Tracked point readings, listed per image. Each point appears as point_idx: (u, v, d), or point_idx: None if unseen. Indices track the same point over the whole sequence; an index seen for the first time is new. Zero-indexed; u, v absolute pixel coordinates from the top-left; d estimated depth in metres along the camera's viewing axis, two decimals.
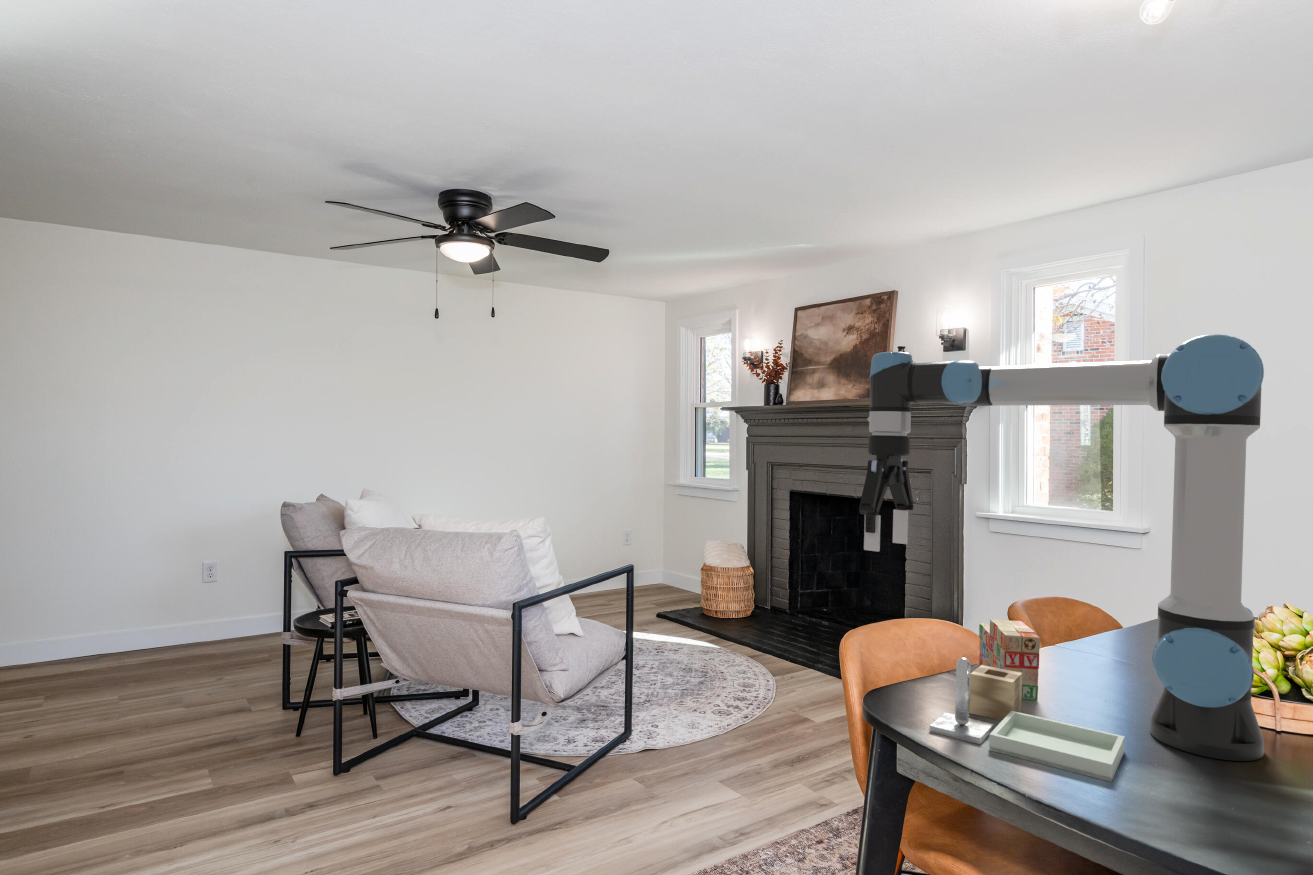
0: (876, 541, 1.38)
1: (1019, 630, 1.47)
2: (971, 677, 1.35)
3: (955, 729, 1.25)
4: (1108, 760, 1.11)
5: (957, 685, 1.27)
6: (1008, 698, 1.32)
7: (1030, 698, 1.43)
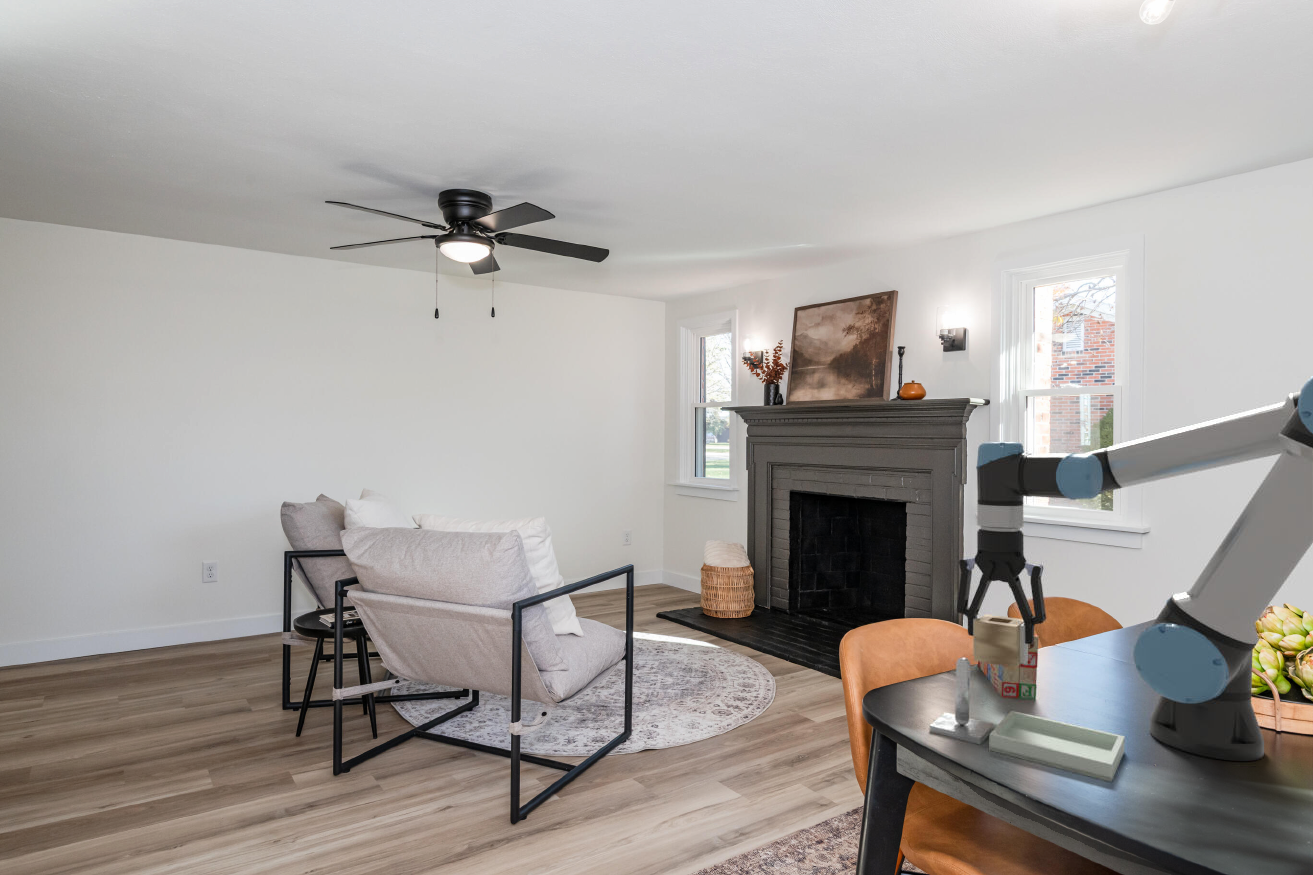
0: (973, 644, 1.38)
1: None
2: (975, 624, 1.35)
3: (955, 729, 1.25)
4: (1108, 760, 1.11)
5: (957, 685, 1.27)
6: (1013, 643, 1.31)
7: (1028, 697, 1.44)
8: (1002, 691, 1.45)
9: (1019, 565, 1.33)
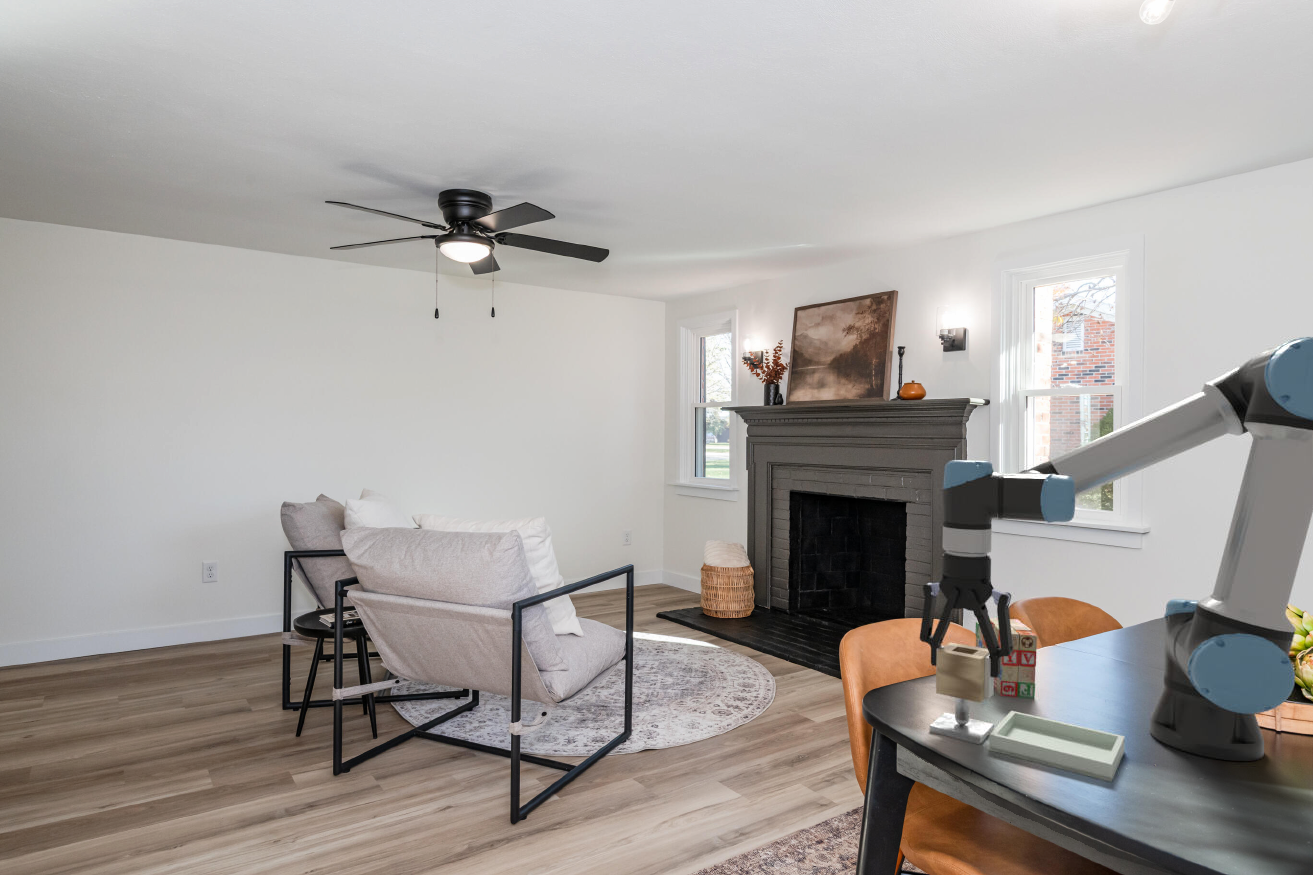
0: (936, 675, 1.29)
1: (1016, 628, 1.48)
2: (938, 655, 1.26)
3: (955, 729, 1.25)
4: (1108, 760, 1.11)
5: None
6: (977, 676, 1.23)
7: (1027, 696, 1.45)
8: (1001, 690, 1.45)
9: (985, 593, 1.24)
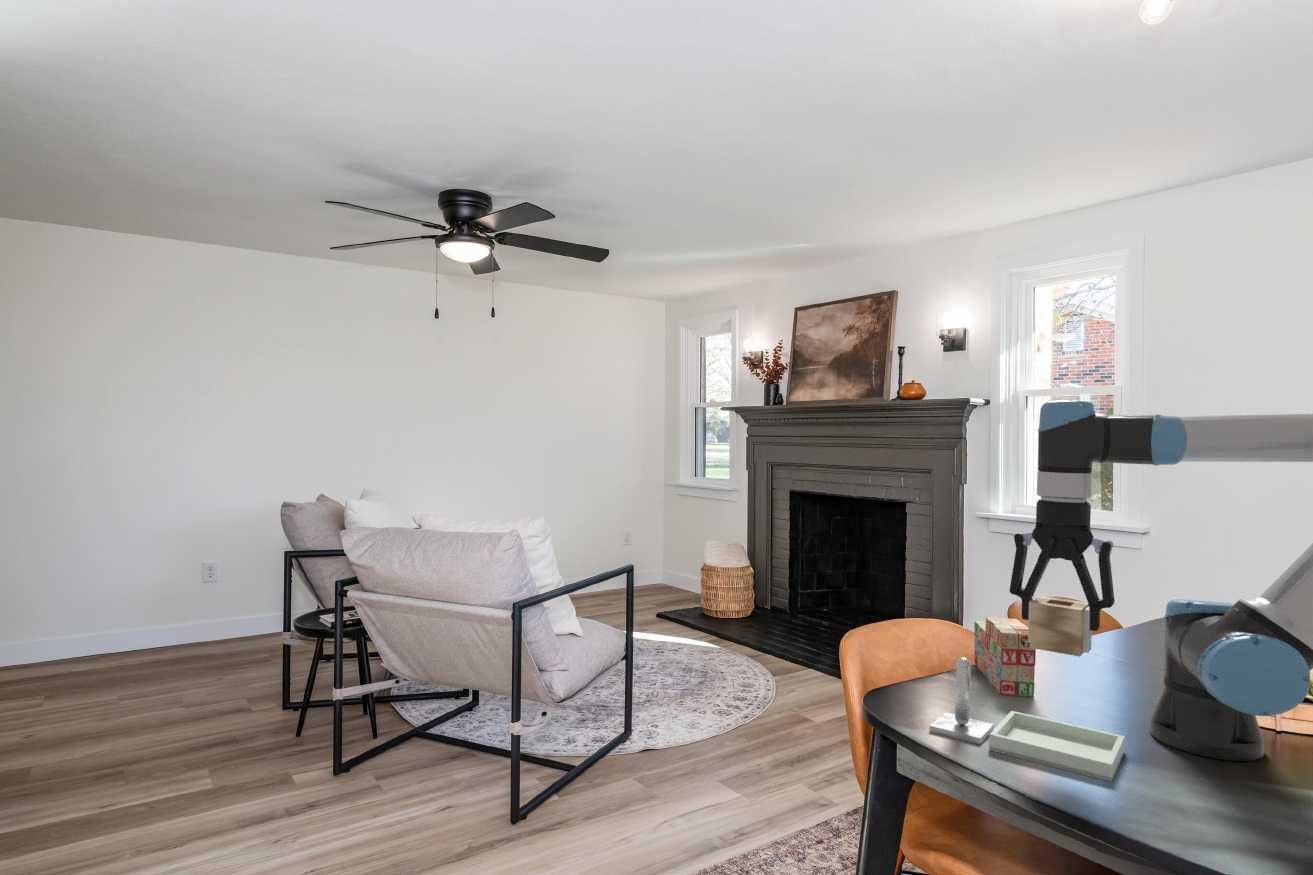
0: (1028, 630, 1.21)
1: (1015, 628, 1.49)
2: (1032, 607, 1.19)
3: (955, 729, 1.25)
4: (1108, 760, 1.11)
5: (957, 685, 1.27)
6: (1076, 628, 1.15)
7: (1026, 695, 1.45)
8: (1000, 689, 1.46)
9: (1085, 541, 1.17)
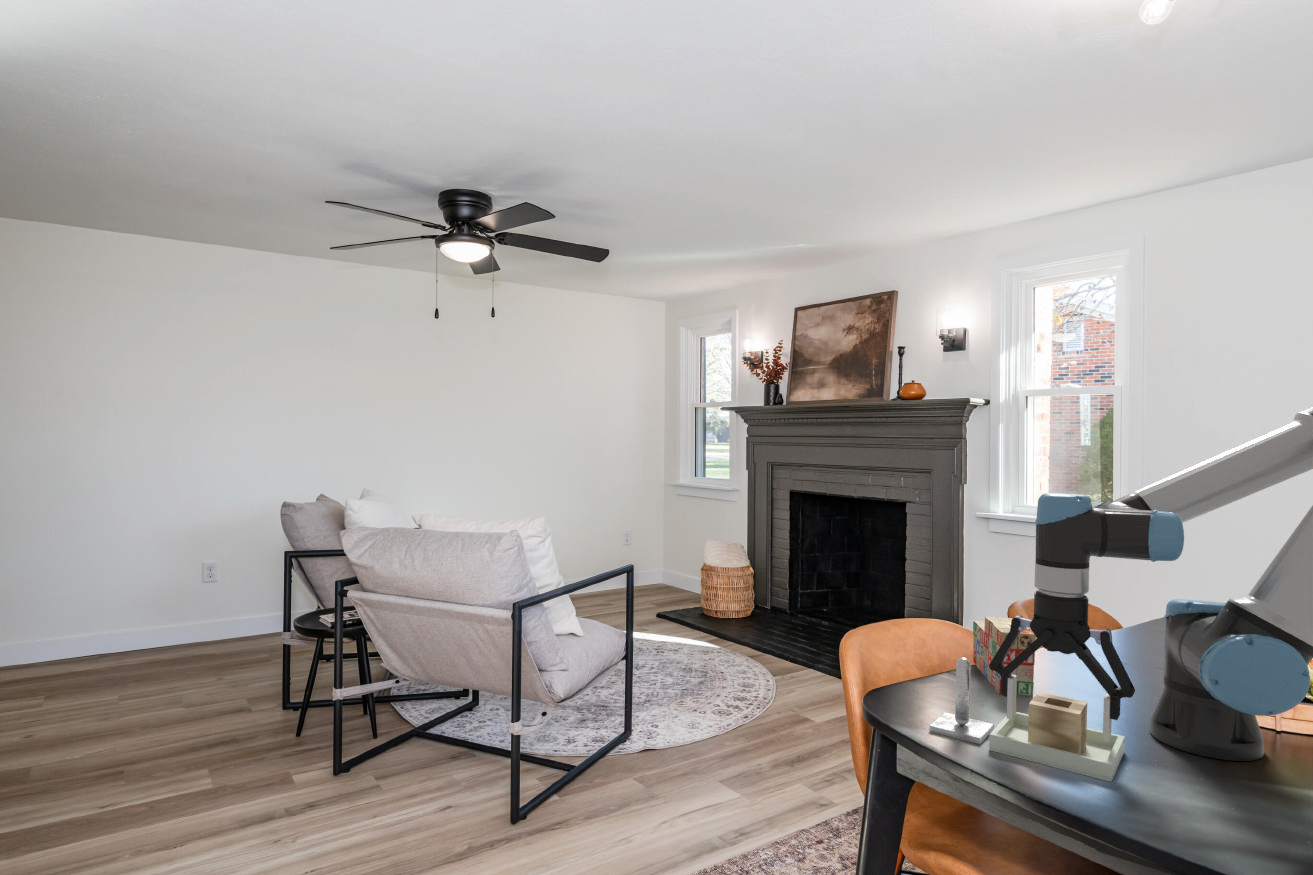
0: (1007, 706, 1.23)
1: None
2: (1030, 707, 1.19)
3: (955, 729, 1.25)
4: (1108, 760, 1.11)
5: (957, 685, 1.27)
6: (1074, 732, 1.15)
7: (1026, 694, 1.45)
8: (1000, 688, 1.46)
9: (1083, 636, 1.17)
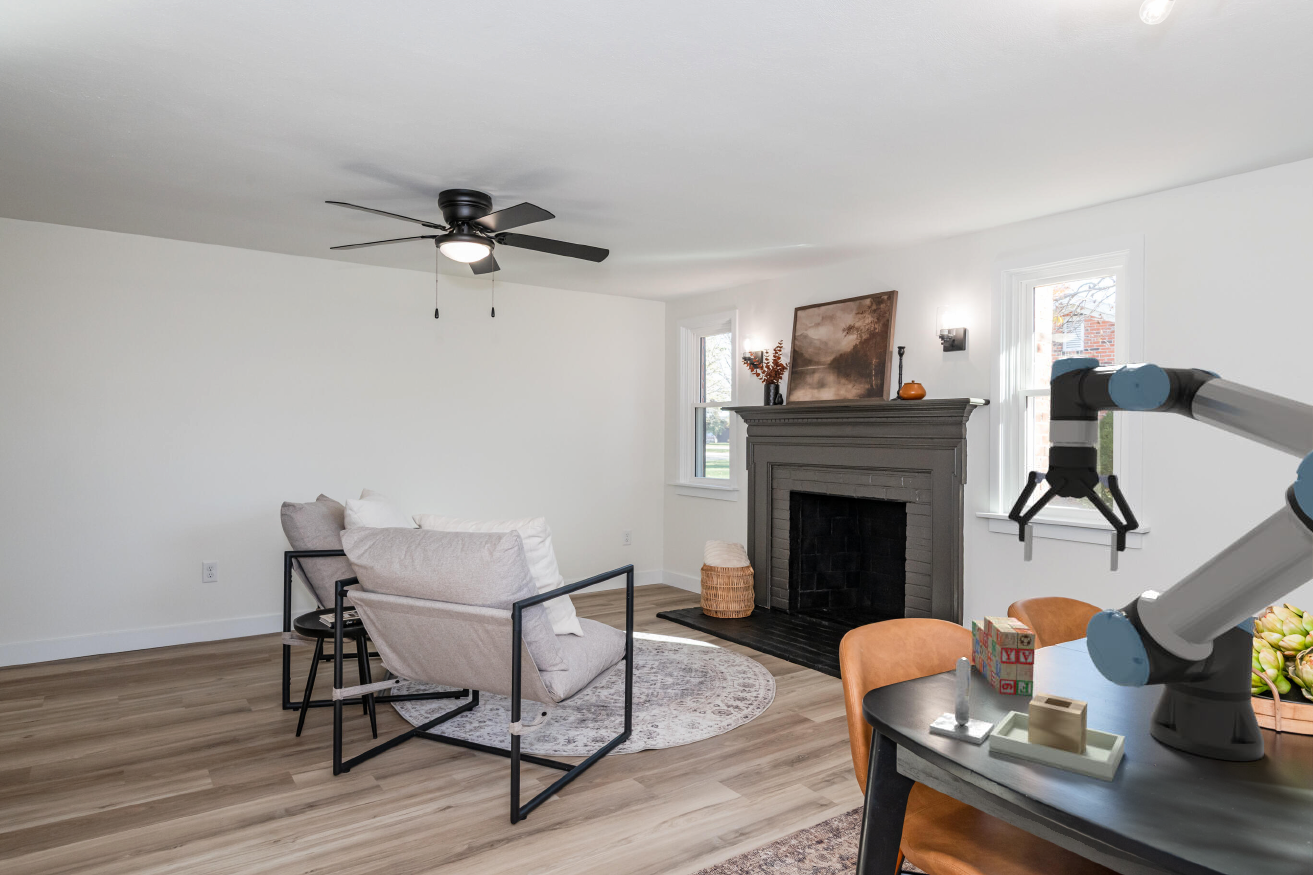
0: (1024, 550, 1.39)
1: (1014, 627, 1.50)
2: (1030, 707, 1.19)
3: (955, 729, 1.25)
4: (1108, 760, 1.11)
5: (957, 685, 1.27)
6: (1074, 732, 1.15)
7: (1025, 693, 1.46)
8: (1000, 688, 1.47)
9: (1093, 481, 1.32)
